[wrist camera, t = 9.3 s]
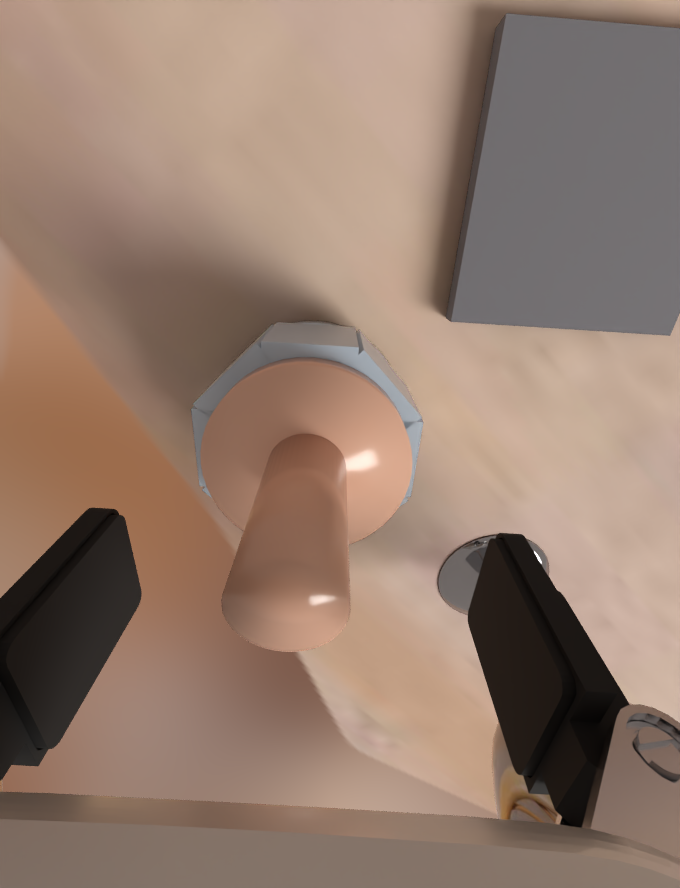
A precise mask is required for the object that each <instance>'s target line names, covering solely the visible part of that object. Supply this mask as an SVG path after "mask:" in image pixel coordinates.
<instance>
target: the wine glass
mask: <svg viewBox="0 0 680 888" xmlns="http://www.w3.org/2000/svg"><path fill="white" fill-rule="evenodd" d="M496 536H497V535H493V536H488V537H483V538H480V539H477V540H474V541H472V542H470V543H468V544H466V545H464V546H462V547H461V548H459V549H458V550H456V551H455V552H454V553H453V554H452V555H451V556H450V557H449V558H448V559H447V560H446V562H445V563H444V565H443V567H442V568H441V570H440V574H439V577H438V587H439V592H440V594H441V596H442V598H443V599H444V601H445V602H446V603H447V604H448V605H449V606H450V607H452V608H453V609H454V610H456V611H458V612H460V613H463V614H465V615H468V610H469V607H470V603H471V600H472V597H473V593H474V590H475V586H476V583H477V580H478V576H479V573H480V569H481V566H482V563H483V559H484V556H485V552H486V549H487V546H488V542H489V540H490V539H491V538H496ZM527 541H528V543H529V544H530V546H531V548H532V550H533V551H534V553H535V555H536V556H537V558H538V560H539V561H540V563H541V565H542V566H543V568H544V570H545V571H546V573H547V575H548V576H549V563H548V559H547V557H546V555H545V553H544V552H543V550H542V549H541V548H540V547H539V546H538V545H536V544H535V543H533V542H531V541H529V540H527ZM628 703H629V702H628ZM629 704H630V705H633V704H631V703H629ZM492 773H493V784H494V795H495V802H496V808H497V814H498V819H505V820H517V821H529V822H541V823H551V824H555V822H556V819H557V815H558V813H557V812H556V811H555V809H554V806H553V804H552V801H551V798H550V795H545V794H529V793H528V789H527V786H526V783H525V780H524V777H523V775H518V774H517V773H516V772H515V770H514V768H513V765H512V762H511V759H510V756H509V752H508V749H507V746H506V743H505V740H504V736H503V733H502V730H501V727H500V724H499V721H498V724H497V727H496V731H495V734H494V738H493V744H492Z"/></svg>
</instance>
